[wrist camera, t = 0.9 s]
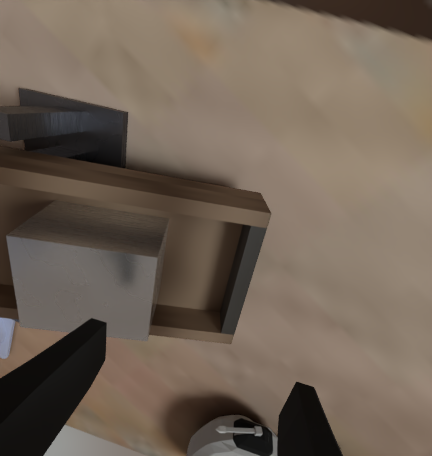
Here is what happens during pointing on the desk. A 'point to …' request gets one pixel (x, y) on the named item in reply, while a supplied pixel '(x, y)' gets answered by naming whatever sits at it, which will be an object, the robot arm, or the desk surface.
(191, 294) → the wooden rimmed tray
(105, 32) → the desk surface
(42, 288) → the block
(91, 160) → the pivot stand
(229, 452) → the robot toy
